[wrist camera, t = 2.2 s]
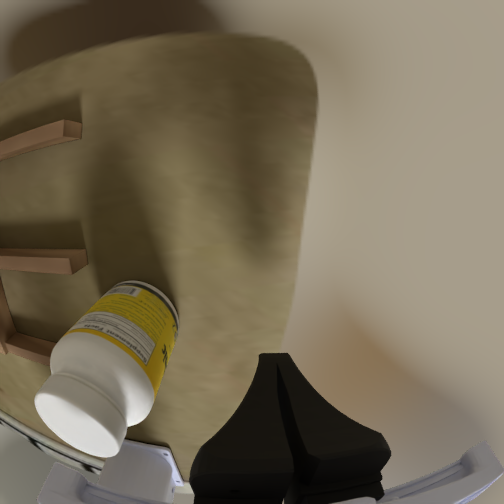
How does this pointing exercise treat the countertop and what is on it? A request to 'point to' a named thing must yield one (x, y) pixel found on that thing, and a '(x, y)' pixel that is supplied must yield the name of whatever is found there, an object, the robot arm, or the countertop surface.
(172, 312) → the supplement bottle
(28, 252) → the rack
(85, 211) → the countertop surface
